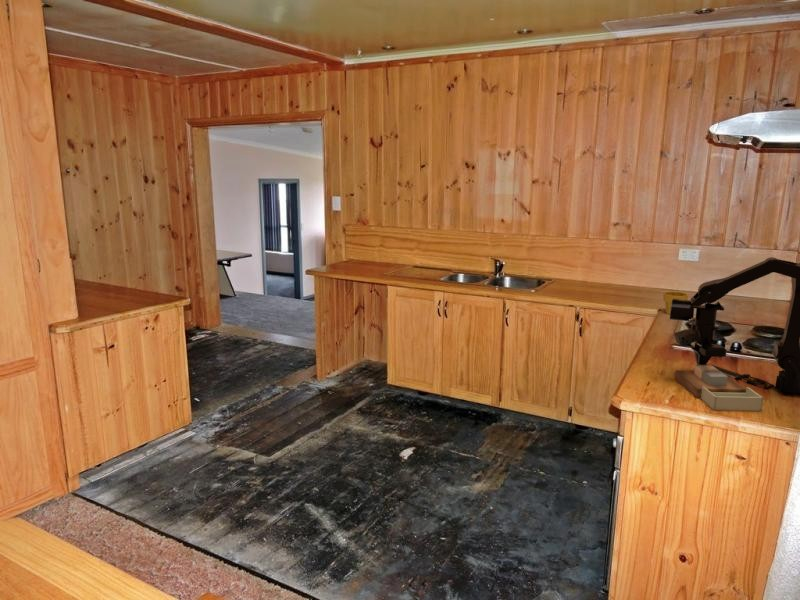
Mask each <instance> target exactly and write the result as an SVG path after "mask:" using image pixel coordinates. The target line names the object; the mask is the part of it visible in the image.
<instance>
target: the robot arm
mask: <svg viewBox="0 0 800 600" xmlns="http://www.w3.org/2000/svg"><path fill="white" fill-rule="evenodd" d="M773 273H775V274H779V275H782V276H786V277H789V278H791V279H790V281H791V290H792V292H791V299H790V303H789V308H788V312H787V317H786V321H785V326H784V332H783V334H782V335H783V336H782V338H781V339H780V341H778V340H774V341H773V342H774V343H773V344H774V347H773V350H772V351H771V353H772V355H773V358H774V360H775V362H776V363H777V365H778V367H780V368H781V369H782V370H779V371H778V375H777V376H776V379H775V386H774V387H773V388H772V389H775V390H776V391H777V392H779V393H780V394H783V396H785V397H786V396H789V397H790V396H791V397H796V396H798V397H800V262H793V261H790V260H784V259H780V258H777V257H773V256H771V257H768V258H765V259H764V260H763V261H760V262H758V263H756V264H754V265H752V266H750V267H749V266H748V267H746V268H745V269H742V270H740V271H737V272H736V273H733V274H730V275H729V276H726V277H723V278H716V279H713V280H710V281H705V282H703V283H701V284H700V285H699V286H698V289H697V292H696V293H694V295H693V296H692V297H691V298H690V299H689V300H679V299H672V306H671V309H670V314H669V320H672V321H685V322H690V320H692V319H694V314H695V320H694V323H691V324H690V328H688V329H683V330H679V331H677V332H674V334H673V335H674V339H675V343H676V344H677V345H679V346H680V347H683V346H686V345H688V347H689V348H690V349H691V350H692V351H693V352H694V357H695V361H696V365H706V364H708V362H709V361H710V360H711V359H712V357H714V358H715V357H716V358H720V357H721V358H722V357H723V358H724V357H727V349H726V348H725V347H724V346H722V345H721V344H718V343H717V339H715V334H716V333H715V331H719V330H718V329H719V327H718V326H716V325H717V324H716V322H717V316H718V315H717V314H718V311H723V312H724V311H725V307H724V305H722V304H721V302H720V301H719V300H721V299H722V298H723V297H725V296H726V295H728V293H730V292H731V291H733V290H735V289H737V288H740V287H741V286H745V285H747V284H749V283H751V282H754V281H756V280H758V279H760V278H764V277H766V276H767V275H770V274H773ZM695 309H696V310H695Z"/></svg>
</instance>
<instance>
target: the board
mask: <svg viewBox="0 0 800 600" xmlns="http://www.w3.org/2000/svg"><path fill="white" fill-rule="evenodd" d="M720 372H721V371H720ZM722 373H723V372H722ZM723 374H724V373H723ZM725 375H726V374H725ZM726 376H727V375H726ZM674 377H675V378H674V380H675V379H676V381H677V382H678V383H679V385H681V386H682V385H683V386H684V387H685V388H684V387H683V386H682V387H683V388H684V389H685V390H686V391H687V392H689V393H690V392H691V393H692V394H693V395H694V396H693V395H692V394H691V393H690V394H691V395H692V396H693V397H694V398H696V399H701V393H702V386H704V387H705V388H707V389H708V390H709V391H710V392H724V393H746V387H744V386H743V385H742V384H740V383H738V382H737V381H736V380H734V379H733V378H732V377H730V376H727V377H728V379H727V386H709V385H708V384H706V383H705V382H704V381H703V380H702V379H700V378H699V377H698V376H696V375H695V374H694V370H691V369H690V370H687V369H686V370H685V369H684V370H677V369H675V373H674Z"/></svg>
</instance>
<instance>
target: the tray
mask: <svg viewBox="0 0 800 600" xmlns="http://www.w3.org/2000/svg"><path fill="white" fill-rule="evenodd" d="M745 389H746V393H724V392H710V391H709V390H708V389H707V388H705V387H704V386H702V393H701V398H700V400H701V399H702V400H701V401H703V402H704V404H706V405H707V406H708V407H709V408H710V409H711V410H713V411H729V412H730V411H731V412H733V411H736V412H738V411H739V412H745V411H746V412H747V411H748V412H763V411H762V410H763V404H764V397H763V396H761V395H760V394H759V393H757V392H756V391H755V390H753V389H752V388H751V387H749V386H746V387H745Z"/></svg>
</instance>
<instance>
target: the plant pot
mask: <svg viewBox="0 0 800 600" xmlns="http://www.w3.org/2000/svg"><path fill="white" fill-rule="evenodd" d="M672 299H679V300H688V299H689V294H688V293H687V292H683V291H665V292H663V301H664V305H665V312H666V314H668V315H670V309H671V306H672Z"/></svg>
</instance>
